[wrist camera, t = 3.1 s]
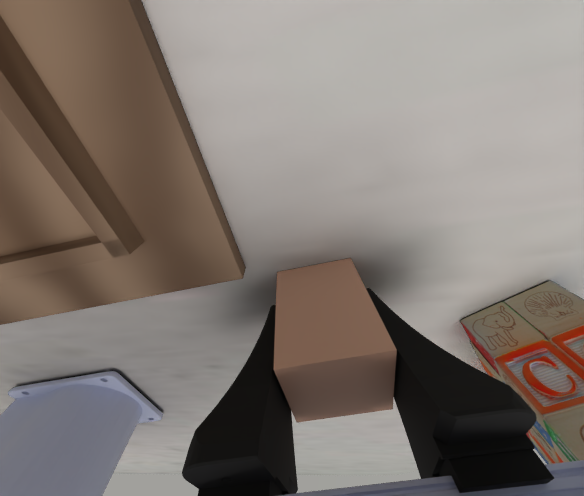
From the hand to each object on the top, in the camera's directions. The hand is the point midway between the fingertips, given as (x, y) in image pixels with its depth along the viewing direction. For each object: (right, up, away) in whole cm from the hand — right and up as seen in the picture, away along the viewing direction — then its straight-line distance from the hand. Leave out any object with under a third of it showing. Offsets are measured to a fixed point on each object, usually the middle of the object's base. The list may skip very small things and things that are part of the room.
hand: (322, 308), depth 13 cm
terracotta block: (0, +1, +1) cm, 1 cm away
